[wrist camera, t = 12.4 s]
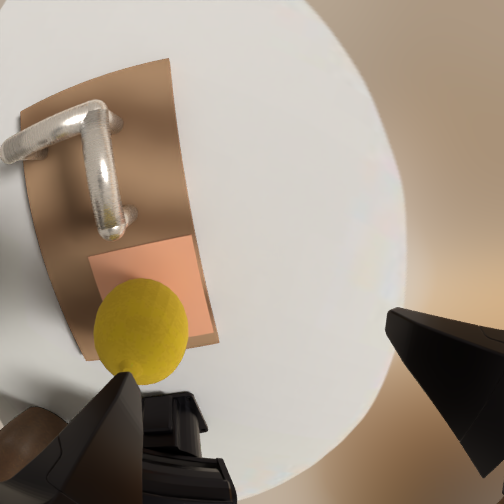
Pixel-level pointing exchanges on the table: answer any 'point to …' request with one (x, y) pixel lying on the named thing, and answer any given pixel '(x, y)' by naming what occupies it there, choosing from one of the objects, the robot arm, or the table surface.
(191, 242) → the terracotta tile
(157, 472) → the robot arm
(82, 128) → the bent wire
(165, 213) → the walnut board
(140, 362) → the lemon
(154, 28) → the table surface
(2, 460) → the plant pot
